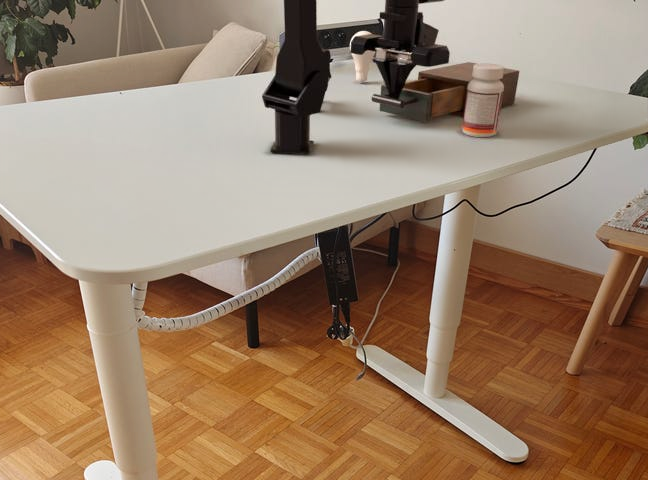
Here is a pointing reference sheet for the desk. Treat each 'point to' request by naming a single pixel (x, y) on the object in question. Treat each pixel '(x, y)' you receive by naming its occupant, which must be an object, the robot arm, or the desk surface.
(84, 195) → the desk surface
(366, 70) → the lightbulb
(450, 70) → the cabinet
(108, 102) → the desk surface
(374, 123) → the desk surface
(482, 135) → the pill bottle
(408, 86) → the drawer
